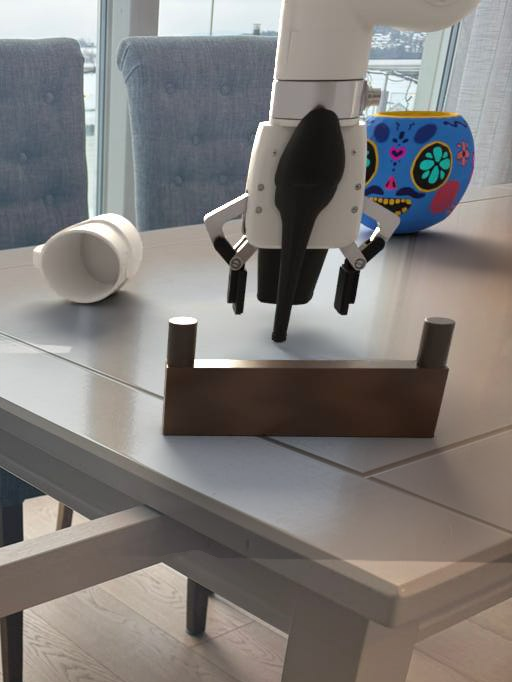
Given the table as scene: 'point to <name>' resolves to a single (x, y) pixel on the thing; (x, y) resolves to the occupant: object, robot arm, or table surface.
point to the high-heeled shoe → (300, 214)
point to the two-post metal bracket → (304, 391)
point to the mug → (90, 258)
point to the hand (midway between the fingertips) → (288, 311)
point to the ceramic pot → (417, 166)
